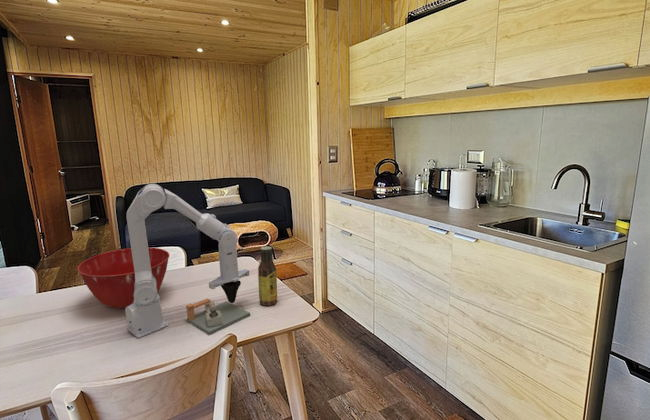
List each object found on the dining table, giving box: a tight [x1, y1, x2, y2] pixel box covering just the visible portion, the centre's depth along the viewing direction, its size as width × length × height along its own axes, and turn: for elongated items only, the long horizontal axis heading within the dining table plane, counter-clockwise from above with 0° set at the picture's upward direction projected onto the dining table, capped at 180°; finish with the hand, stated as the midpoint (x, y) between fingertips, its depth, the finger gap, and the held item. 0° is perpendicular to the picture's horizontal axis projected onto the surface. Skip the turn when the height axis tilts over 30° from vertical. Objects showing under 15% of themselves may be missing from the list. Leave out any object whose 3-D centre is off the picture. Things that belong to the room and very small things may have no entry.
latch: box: [204, 300, 223, 327], centre depth 117 cm, size 12×4×2 cm, turn 25°
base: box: [185, 300, 251, 336], centre depth 118 cm, size 15×13×6 cm
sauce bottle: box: [257, 246, 278, 307], centre depth 127 cm, size 6×6×20 cm
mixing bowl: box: [77, 246, 170, 310], centre depth 131 cm, size 28×28×16 cm
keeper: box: [185, 298, 212, 320], centre depth 119 cm, size 8×2×5 cm, turn 139°
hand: (231, 301), depth 125 cm, fingers closed
